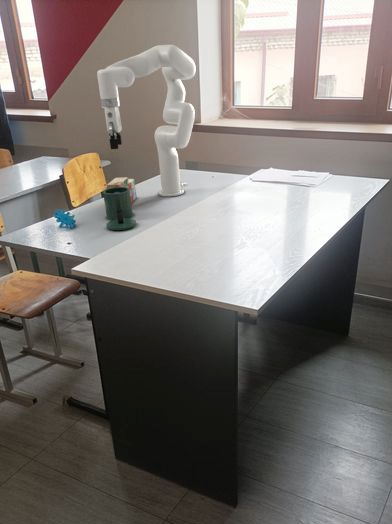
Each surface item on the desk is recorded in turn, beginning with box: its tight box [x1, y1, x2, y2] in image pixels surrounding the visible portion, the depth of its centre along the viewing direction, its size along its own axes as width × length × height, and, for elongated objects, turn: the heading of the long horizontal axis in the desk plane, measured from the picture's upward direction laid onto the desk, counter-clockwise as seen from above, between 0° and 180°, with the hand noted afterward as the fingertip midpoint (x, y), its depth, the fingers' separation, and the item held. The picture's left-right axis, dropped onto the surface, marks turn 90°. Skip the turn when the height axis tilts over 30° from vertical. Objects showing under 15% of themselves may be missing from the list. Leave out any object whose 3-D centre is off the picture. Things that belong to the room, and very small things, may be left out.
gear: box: [53, 208, 77, 230], centre depth 218 cm, size 11×6×10 cm
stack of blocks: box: [106, 176, 138, 204], centre depth 240 cm, size 21×6×12 cm, turn 168°
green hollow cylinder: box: [102, 187, 134, 221], centre depth 224 cm, size 12×12×12 cm
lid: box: [105, 210, 137, 231], centre depth 213 cm, size 13×13×7 cm
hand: (116, 146), depth 218 cm, fingers open, 9 cm apart
